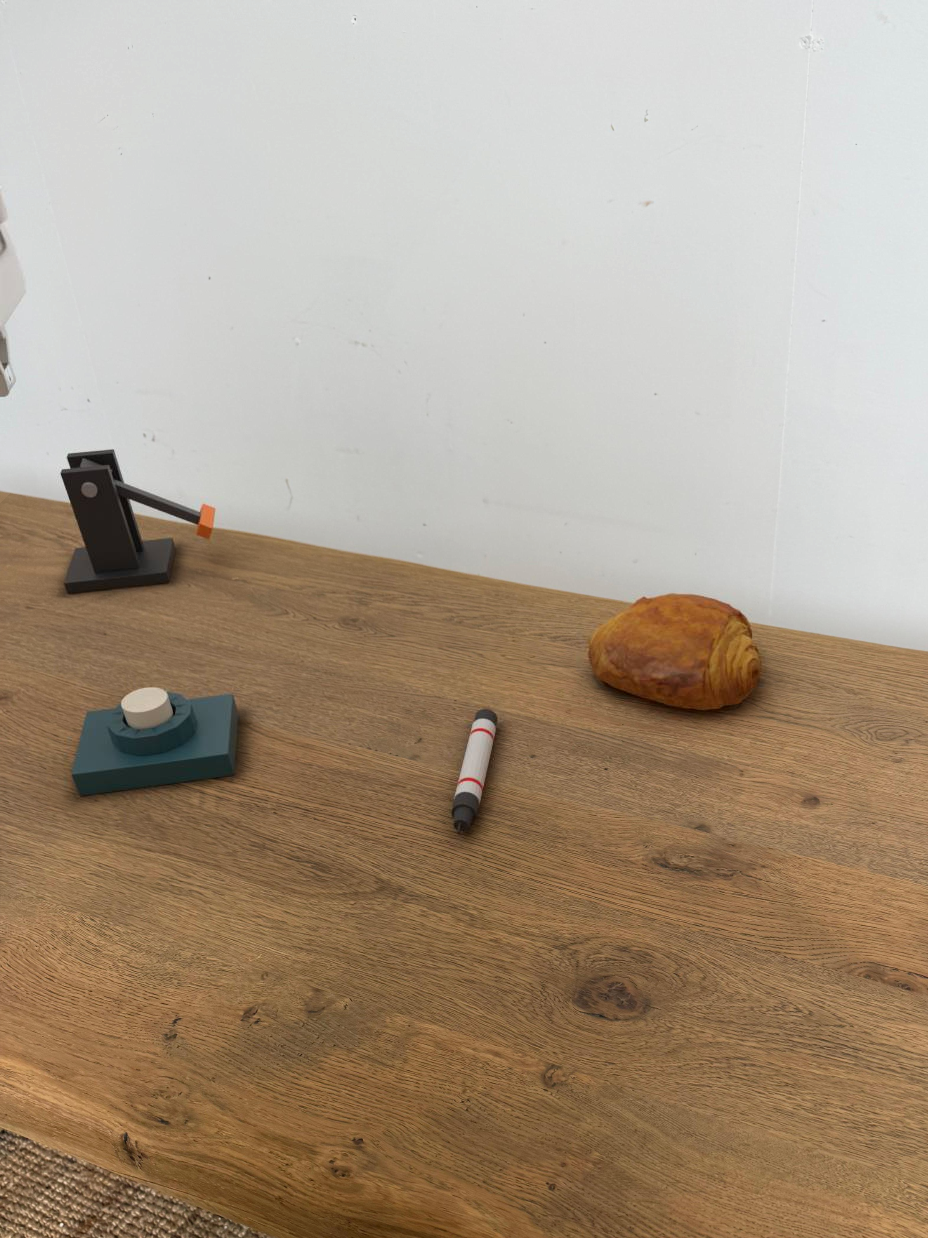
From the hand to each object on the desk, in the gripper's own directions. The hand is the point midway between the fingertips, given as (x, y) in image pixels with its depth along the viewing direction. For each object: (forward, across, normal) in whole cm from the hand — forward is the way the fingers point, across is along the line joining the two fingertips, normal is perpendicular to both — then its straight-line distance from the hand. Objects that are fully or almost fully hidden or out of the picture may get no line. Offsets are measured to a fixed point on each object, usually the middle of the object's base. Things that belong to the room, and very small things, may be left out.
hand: (2, 390), depth 93 cm
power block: (+25, +17, +8) cm, 31 cm away
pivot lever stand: (+25, -18, 0) cm, 31 cm away
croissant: (+24, +14, +53) cm, 60 cm away
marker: (+24, +26, +33) cm, 49 cm away
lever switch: (+19, -18, +4) cm, 26 cm away
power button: (+21, +17, +8) cm, 28 cm away
